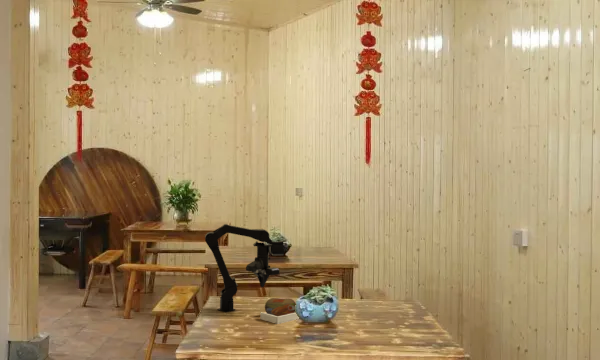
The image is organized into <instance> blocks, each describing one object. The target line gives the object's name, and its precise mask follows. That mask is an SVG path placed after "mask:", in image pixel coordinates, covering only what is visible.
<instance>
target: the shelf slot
mask: <svg viewBox="0 0 600 360" xmlns="http://www.w3.org/2000/svg"><path fill="white" fill-rule="evenodd" d="M259 319H260V320H262V321H266V322H269V323H273V324H276V325H279V324H283V323H287V322H293V321H296V319H297V320H300V319H299V317H298V316H297V314H296V313H291V314H287V315H282V316H274V315H270V314H267V313H266V312H262V311H261V312H260V318H259Z"/></svg>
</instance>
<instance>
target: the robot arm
mask: <svg viewBox="0 0 600 360" xmlns="http://www.w3.org/2000/svg"><path fill="white" fill-rule="evenodd" d="M225 234H232V235H238V236H242V237H247V238H251V239H253V240H256V241H255V242H254V243H253V244H252V245H253V247H256V256H255V258H254V260H253V261H250V262H249V263H248V264H247V265H246V266H245V268H246V269H245V271H247V272H251V273H253V274H254V275H255V276H257V279H258V281H259V285H260V288H264V287H265V285H266V283H267V281H268V279H269V277H270V276H276V275H280V269H279V268H278V267H271V265H270V264H269V260H271V257H269V254H271V255H272V256H284V254H285V245H284V241H282V240H280V241H273V239H272V238H270V232H268V231H267V230H266V229H263V228H262V229H261V228H255V229H254V228H246V227H240V226H236V225H230V224H228V223H224V224H222V225H221V226H220V227H218V228H216V229H215V230H213V231H208V232H207V233H206V234H205V236H204V240H205V242H206V243H205V244H206V245H207V246H208V248H209V249H210V251H211V252H212V254H213V256H214V257H213V258H214V259H215V262H216V265H217V267H218V270H219V272H220V275H221V277H222V281H223V286H224V288H222V289H221V291H220V292H219V293H220V297H219V308H217V311H219V312H223V313H228V312H234V311H237V310H236V308H234V296H235V295H236V294H237V292H238V287H239V284H238V283H237V282H236V278H235V276H233V277H232V276H231V275H230V273H229V270H228V267H227V265H226V263H225V259H224V257H223V255H222V252H221V250H220V246H219V245H220V244H219V239H221V238H222V237H223V236H224V235H225ZM258 241H259V242H258ZM265 243H266V244H265Z"/></svg>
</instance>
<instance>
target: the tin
mask: <svg viewBox="0 0 600 360" xmlns="http://www.w3.org/2000/svg"><path fill="white" fill-rule="evenodd" d="M295 305H297V302H296V301H295V300H294V299H293V298H288V297H287V298H283V297H282V298H281V297H272V298H269V299H267V301H266V302H265V304H264V311H265V313H267V314H270V315H274V316H282V315H287V314H291V313H295Z"/></svg>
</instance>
